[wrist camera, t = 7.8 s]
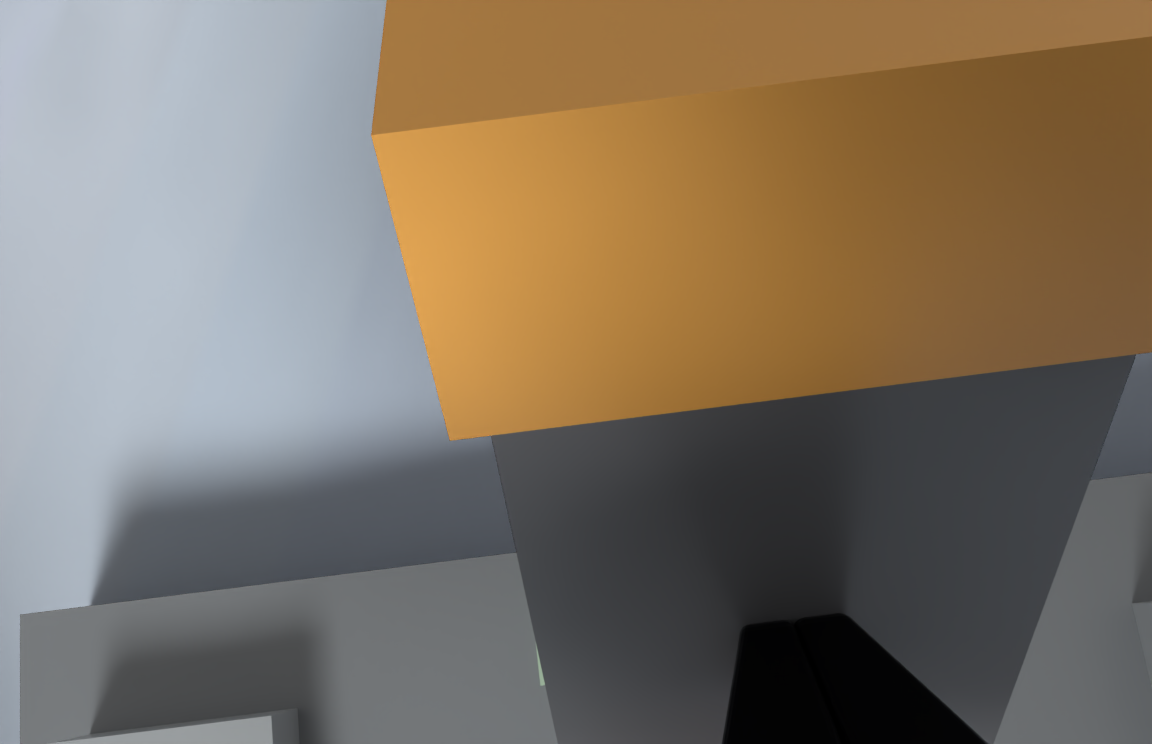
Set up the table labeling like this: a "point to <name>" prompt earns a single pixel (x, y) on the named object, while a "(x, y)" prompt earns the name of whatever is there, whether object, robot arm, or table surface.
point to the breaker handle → (775, 317)
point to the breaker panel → (503, 654)
